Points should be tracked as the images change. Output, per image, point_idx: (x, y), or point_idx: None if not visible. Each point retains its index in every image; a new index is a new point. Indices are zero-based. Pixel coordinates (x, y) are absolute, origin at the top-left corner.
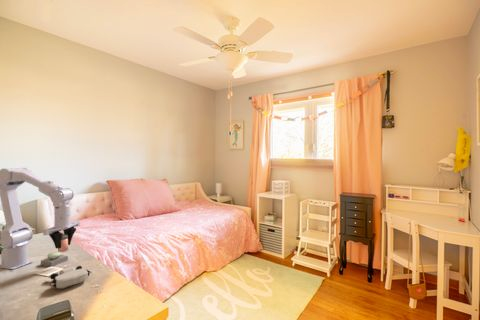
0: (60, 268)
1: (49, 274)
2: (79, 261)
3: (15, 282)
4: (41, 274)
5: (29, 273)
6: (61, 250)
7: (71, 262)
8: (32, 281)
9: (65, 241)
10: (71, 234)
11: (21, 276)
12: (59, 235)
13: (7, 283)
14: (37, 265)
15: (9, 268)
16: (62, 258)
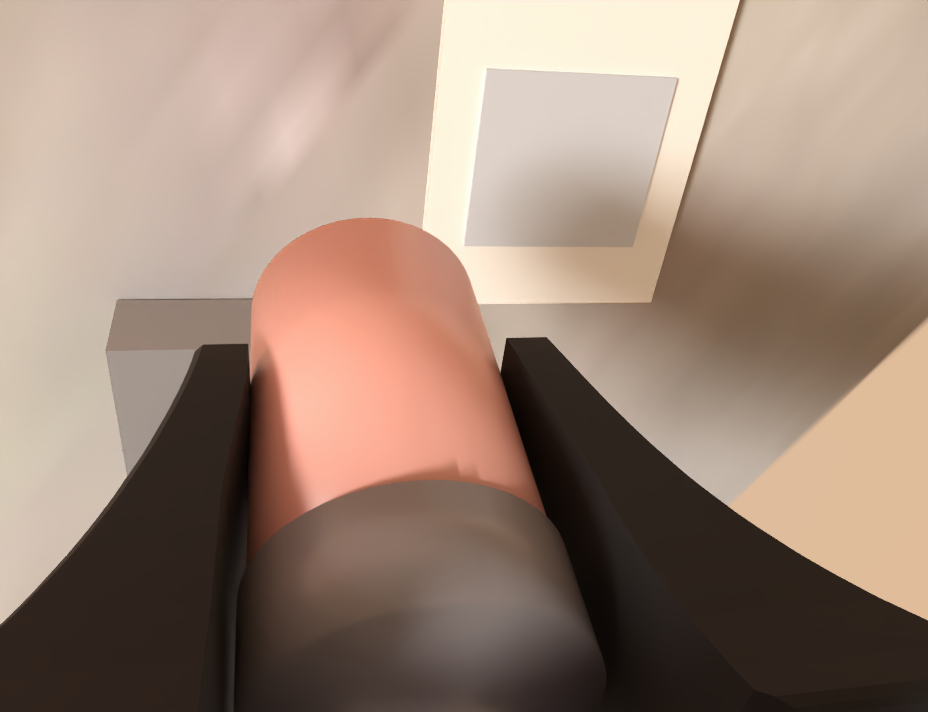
0: (452, 69)
1: (686, 31)
2: (44, 13)
3: (867, 283)
4: (685, 168)
5: (630, 372)
6: (467, 288)
7: (156, 142)
8: (872, 88)
9: (420, 415)
10: (162, 592)
11: (711, 377)
12: (849, 635)
13: (878, 341)
14: None
15: None
16: (219, 343)
